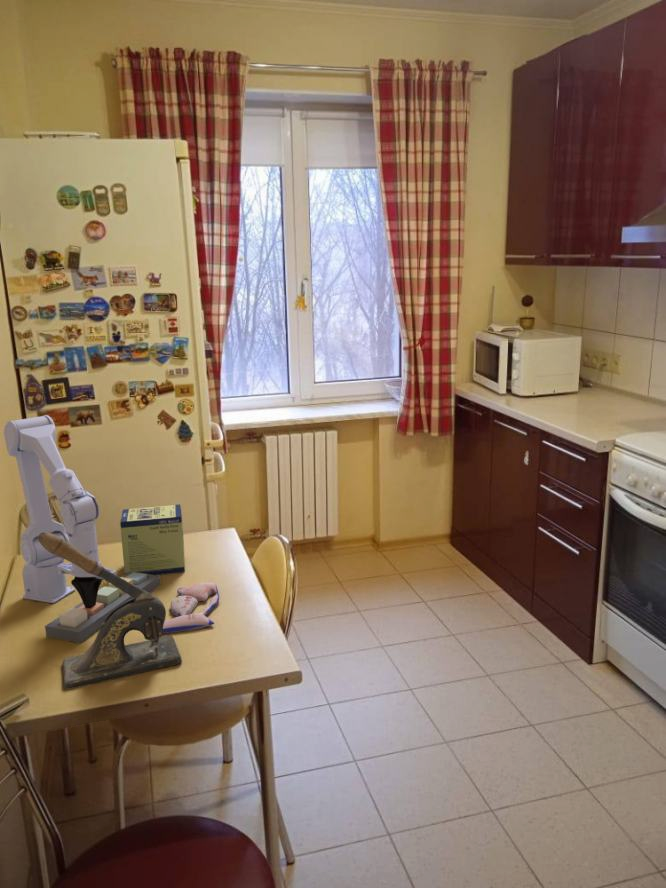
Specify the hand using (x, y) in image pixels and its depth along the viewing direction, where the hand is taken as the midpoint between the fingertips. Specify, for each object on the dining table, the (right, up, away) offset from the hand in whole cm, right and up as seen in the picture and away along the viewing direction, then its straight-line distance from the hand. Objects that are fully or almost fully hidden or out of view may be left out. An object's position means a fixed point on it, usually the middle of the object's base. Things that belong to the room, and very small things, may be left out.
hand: (90, 606), depth 157 cm
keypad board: (+2, -2, +6) cm, 6 cm away
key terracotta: (0, -3, +1) cm, 3 cm away
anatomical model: (+21, -3, +5) cm, 22 cm away
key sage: (+2, 0, +6) cm, 6 cm away
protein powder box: (+7, +3, +29) cm, 30 cm away
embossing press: (+12, -8, -18) cm, 23 cm away
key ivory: (-2, -3, -5) cm, 6 cm away
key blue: (+6, +1, +16) cm, 17 cm away
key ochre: (+4, +1, +11) cm, 11 cm away
